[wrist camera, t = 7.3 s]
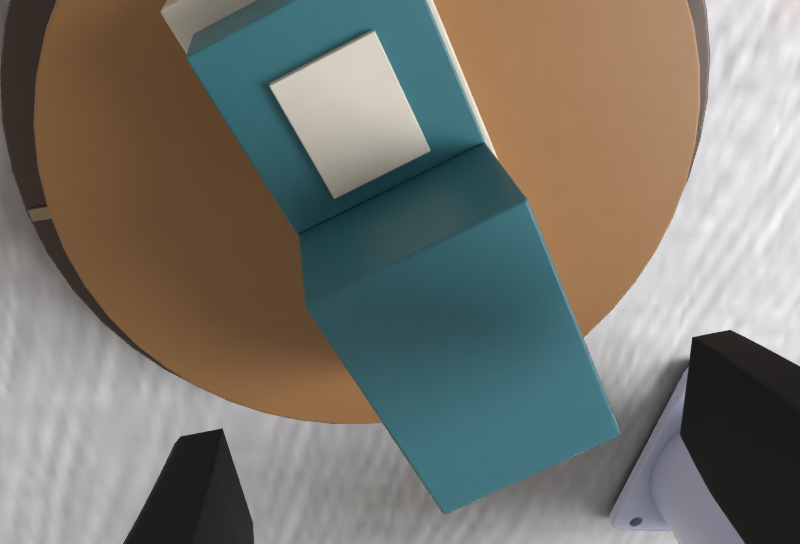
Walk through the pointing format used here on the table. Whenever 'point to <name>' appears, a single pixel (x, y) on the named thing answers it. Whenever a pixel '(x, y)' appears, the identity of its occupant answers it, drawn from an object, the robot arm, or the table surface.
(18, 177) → the display base
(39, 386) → the table surface
